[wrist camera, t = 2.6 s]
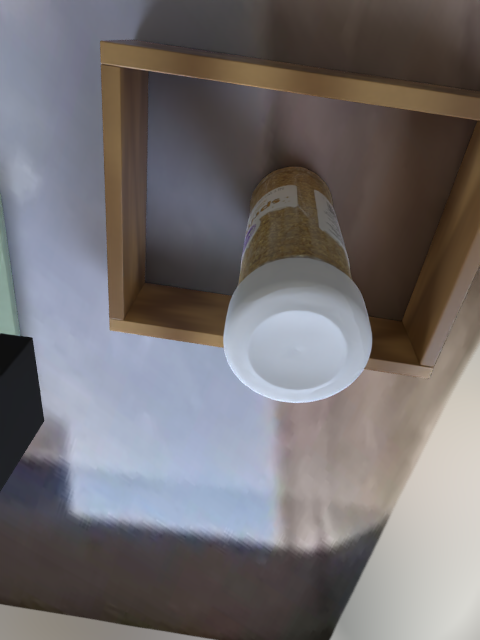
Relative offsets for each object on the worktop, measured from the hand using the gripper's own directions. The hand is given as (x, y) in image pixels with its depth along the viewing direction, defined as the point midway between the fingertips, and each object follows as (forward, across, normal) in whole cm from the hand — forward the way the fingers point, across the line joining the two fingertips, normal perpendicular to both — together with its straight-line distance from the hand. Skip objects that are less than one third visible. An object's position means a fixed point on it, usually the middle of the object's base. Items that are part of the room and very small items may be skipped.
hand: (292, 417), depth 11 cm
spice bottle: (+16, 0, 0) cm, 16 cm away
